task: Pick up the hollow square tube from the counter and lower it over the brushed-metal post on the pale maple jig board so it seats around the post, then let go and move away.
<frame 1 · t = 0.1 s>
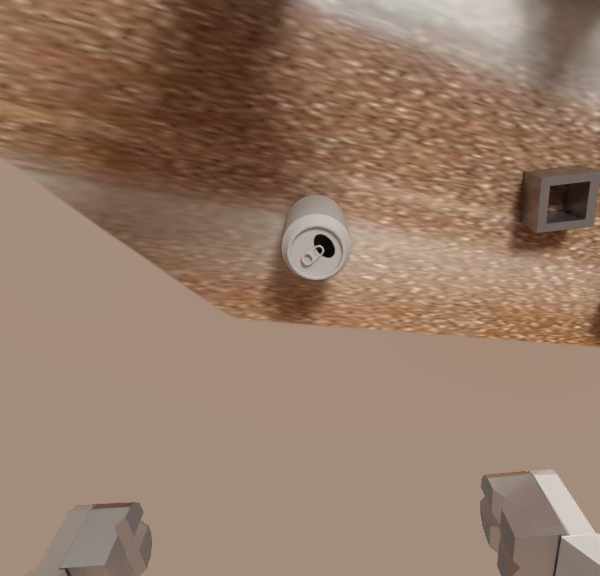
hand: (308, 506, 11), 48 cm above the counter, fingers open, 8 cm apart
hollow square tube: (549, 194, 55), on the counter
can: (315, 221, 57), on the counter
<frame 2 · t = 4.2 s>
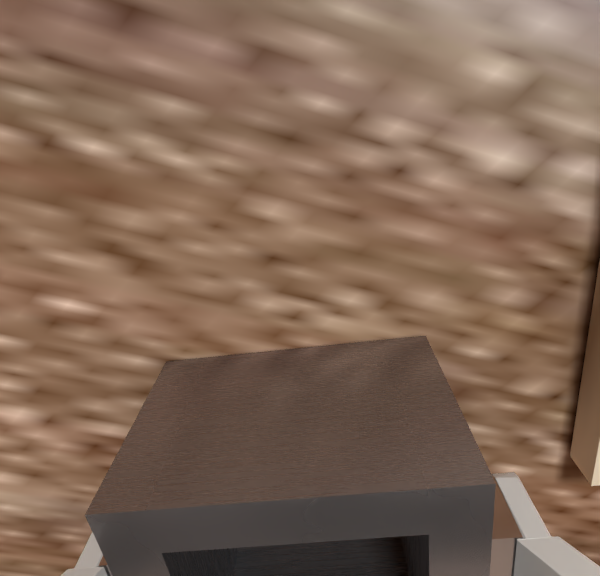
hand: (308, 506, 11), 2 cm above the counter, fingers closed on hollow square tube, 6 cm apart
hollow square tube: (308, 448, 12), on the counter, touching gripper
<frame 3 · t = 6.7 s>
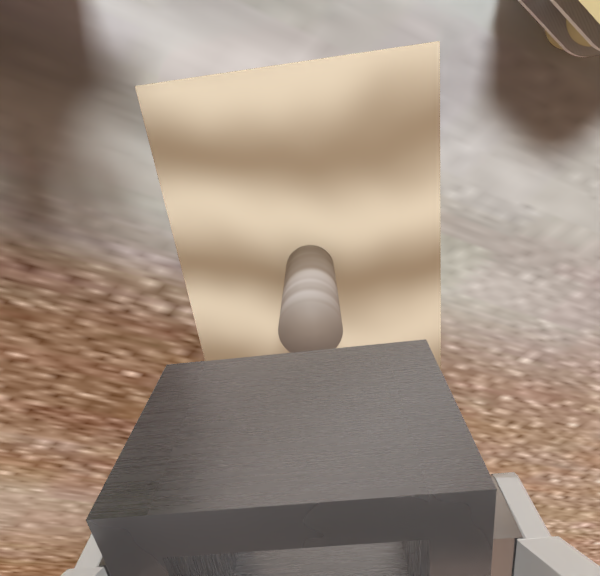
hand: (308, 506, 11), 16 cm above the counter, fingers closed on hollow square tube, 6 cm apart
hollow square tube: (309, 452, 12), point 14 cm above the counter, touching gripper
jig: (310, 261, 25), on the counter
when the fingers open (3 cm above the counter, at t = 9.4 s): hollow square tube stays where it is, resting on jig.
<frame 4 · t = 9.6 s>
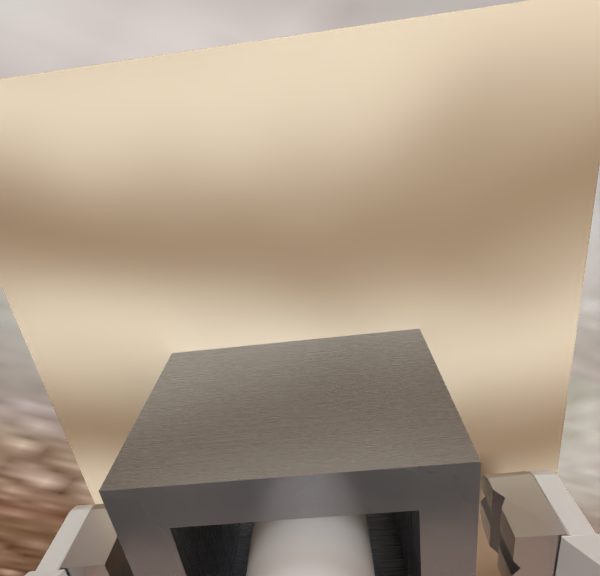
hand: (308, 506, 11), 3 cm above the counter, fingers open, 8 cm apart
hollow square tube: (308, 437, 13), point 1 cm above the counter, touching jig
jig: (310, 414, 14), on the counter
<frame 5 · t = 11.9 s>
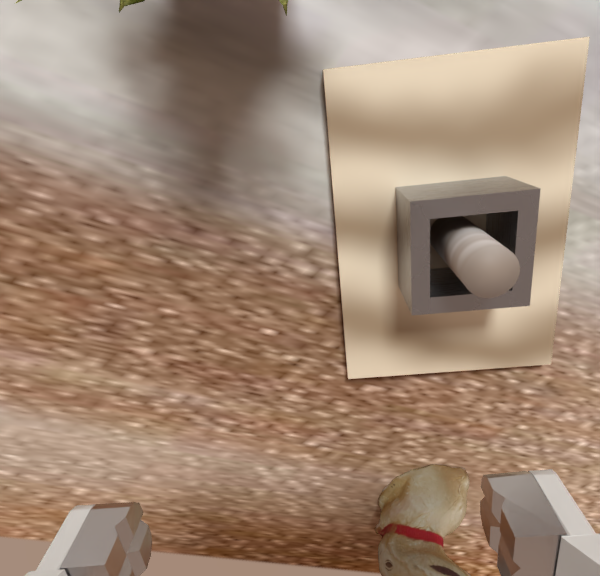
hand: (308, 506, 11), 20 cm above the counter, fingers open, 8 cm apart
hollow square tube: (449, 233, 28), point 1 cm above the counter, touching jig
jig: (445, 229, 28), on the counter
chocolate bunny: (417, 488, 37), on the counter
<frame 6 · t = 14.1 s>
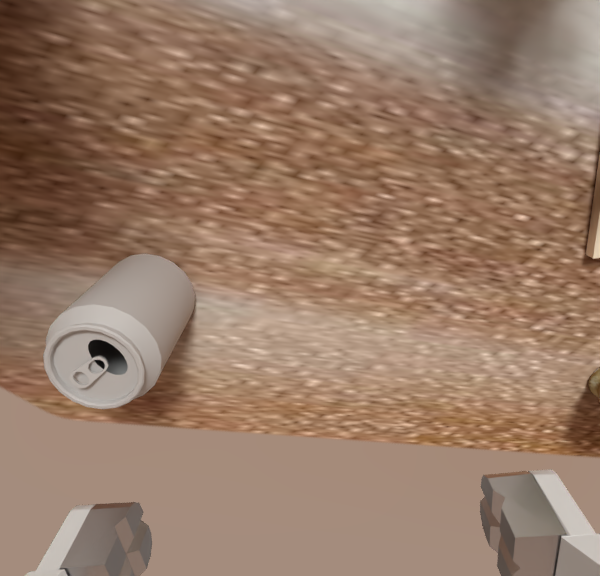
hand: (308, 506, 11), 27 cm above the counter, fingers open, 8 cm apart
can: (155, 290, 39), on the counter
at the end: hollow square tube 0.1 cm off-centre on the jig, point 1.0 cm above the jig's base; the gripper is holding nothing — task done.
